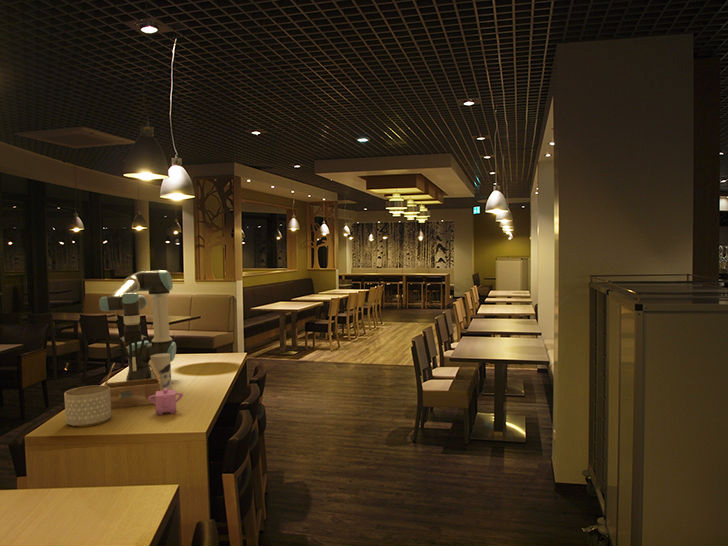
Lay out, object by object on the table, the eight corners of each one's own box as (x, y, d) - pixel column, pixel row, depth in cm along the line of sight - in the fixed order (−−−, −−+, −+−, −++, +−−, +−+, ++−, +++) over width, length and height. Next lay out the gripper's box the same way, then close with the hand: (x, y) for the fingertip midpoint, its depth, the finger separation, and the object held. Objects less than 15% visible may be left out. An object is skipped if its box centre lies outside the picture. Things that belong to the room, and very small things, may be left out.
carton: (107, 402, 294) (106, 382, 294) (161, 396, 302) (160, 377, 302) (103, 410, 279) (102, 389, 279) (160, 403, 287) (159, 384, 287)
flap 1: (106, 381, 292) (114, 362, 293) (107, 381, 292) (115, 362, 293) (103, 386, 281) (111, 367, 282) (104, 386, 281) (112, 367, 282)
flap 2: (158, 376, 300) (149, 359, 298) (159, 376, 300) (150, 359, 298) (158, 381, 288) (148, 364, 287) (159, 381, 288) (149, 363, 287)
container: (165, 394, 307) (163, 356, 306) (148, 393, 309) (146, 356, 308) (175, 389, 317) (173, 353, 316) (158, 389, 319) (156, 353, 318)
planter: (64, 430, 249) (62, 397, 248) (67, 419, 266) (65, 388, 265) (111, 424, 256) (109, 392, 255) (111, 413, 273) (110, 383, 272)
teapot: (188, 410, 274) (187, 387, 273) (165, 418, 262) (164, 394, 262) (167, 406, 282) (165, 384, 281) (143, 414, 270) (142, 391, 270)
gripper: (117, 325, 284) (119, 373, 285) (145, 323, 288) (148, 370, 289) (118, 323, 291) (121, 370, 292) (146, 322, 295) (148, 367, 296)
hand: (134, 370), depth 290 cm, fingers closed
